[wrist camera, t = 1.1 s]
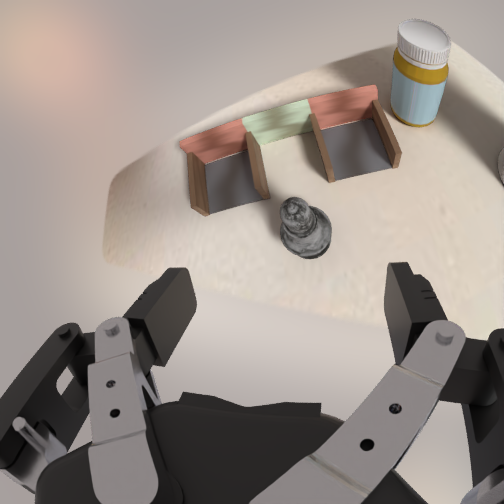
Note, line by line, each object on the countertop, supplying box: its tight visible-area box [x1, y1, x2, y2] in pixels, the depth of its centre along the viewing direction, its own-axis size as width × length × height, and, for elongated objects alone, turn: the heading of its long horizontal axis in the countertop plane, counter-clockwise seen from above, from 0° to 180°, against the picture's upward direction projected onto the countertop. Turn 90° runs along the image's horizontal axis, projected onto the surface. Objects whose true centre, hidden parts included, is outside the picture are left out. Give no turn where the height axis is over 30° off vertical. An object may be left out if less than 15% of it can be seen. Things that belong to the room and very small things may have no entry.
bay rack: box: [180, 85, 402, 216], centre depth 37 cm, size 27×10×6 cm, turn 99°
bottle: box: [391, 19, 451, 127], centre depth 28 cm, size 7×7×15 cm
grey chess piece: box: [280, 197, 332, 259], centre depth 31 cm, size 6×6×12 cm
